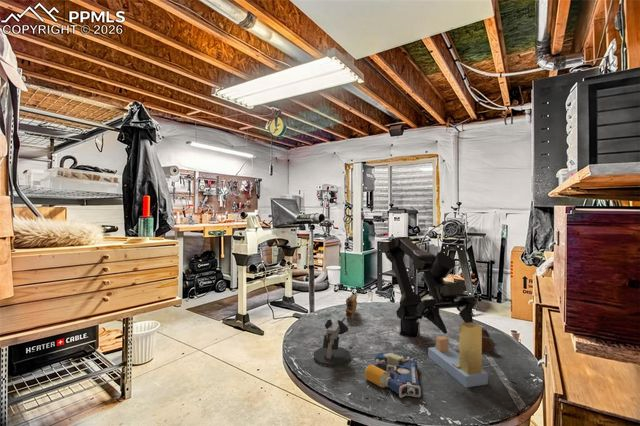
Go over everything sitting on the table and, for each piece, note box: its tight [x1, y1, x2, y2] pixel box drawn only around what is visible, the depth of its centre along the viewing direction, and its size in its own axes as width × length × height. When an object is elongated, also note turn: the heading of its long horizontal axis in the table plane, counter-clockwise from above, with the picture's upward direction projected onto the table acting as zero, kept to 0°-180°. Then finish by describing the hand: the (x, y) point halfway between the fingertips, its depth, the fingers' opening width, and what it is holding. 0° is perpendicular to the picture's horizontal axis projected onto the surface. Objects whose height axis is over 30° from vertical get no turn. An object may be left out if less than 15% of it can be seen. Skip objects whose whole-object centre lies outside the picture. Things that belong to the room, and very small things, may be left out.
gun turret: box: [313, 315, 351, 368], centre depth 104 cm, size 13×20×13 cm, turn 161°
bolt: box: [482, 327, 494, 354], centre depth 111 cm, size 6×5×15 cm
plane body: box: [427, 335, 489, 388], centre depth 93 cm, size 18×7×7 cm, turn 13°
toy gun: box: [364, 351, 422, 399], centre depth 89 cm, size 21×4×15 cm
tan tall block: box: [458, 321, 483, 375], centre depth 87 cm, size 4×4×13 cm
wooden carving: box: [345, 293, 358, 319], centre depth 139 cm, size 16×5×10 cm, turn 169°
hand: (459, 331), depth 91 cm, fingers open, 9 cm apart
